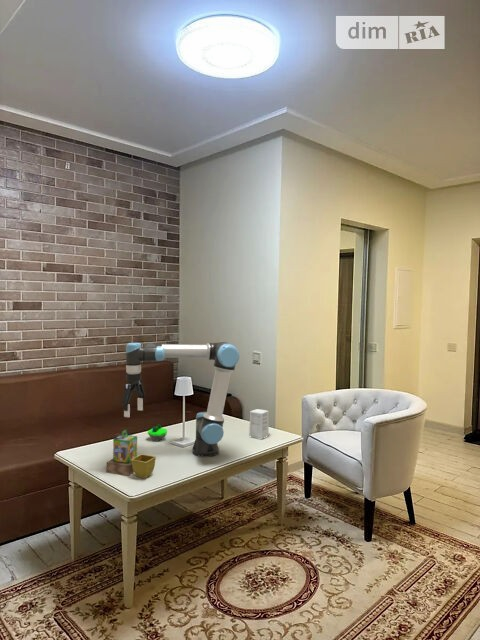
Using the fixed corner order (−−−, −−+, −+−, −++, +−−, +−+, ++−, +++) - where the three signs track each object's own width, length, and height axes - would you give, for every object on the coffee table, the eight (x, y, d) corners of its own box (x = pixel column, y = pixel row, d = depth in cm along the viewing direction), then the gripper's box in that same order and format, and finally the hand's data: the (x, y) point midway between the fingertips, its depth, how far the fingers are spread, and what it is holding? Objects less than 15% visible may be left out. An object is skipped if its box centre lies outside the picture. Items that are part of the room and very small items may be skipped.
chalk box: (129, 463, 220) (129, 434, 219) (112, 461, 222) (112, 432, 221) (137, 457, 229) (138, 429, 228) (121, 455, 231) (122, 427, 230)
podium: (142, 466, 230) (142, 457, 230) (129, 475, 217) (129, 465, 217) (120, 463, 234) (121, 453, 234) (106, 472, 221) (106, 462, 221)
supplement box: (268, 436, 287) (269, 410, 287) (261, 439, 280) (262, 413, 279) (256, 433, 293) (256, 408, 292) (248, 437, 285) (249, 411, 284)
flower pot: (130, 477, 216) (131, 459, 215) (140, 471, 224) (141, 453, 223) (146, 480, 213) (146, 462, 212) (155, 474, 221) (156, 456, 220)
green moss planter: (163, 443, 268) (163, 425, 267) (144, 441, 270) (145, 423, 269) (169, 437, 279) (170, 420, 279) (152, 435, 281) (152, 418, 281)
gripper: (139, 368, 241) (139, 407, 243) (113, 376, 217) (114, 419, 219) (151, 369, 239) (151, 408, 240) (127, 377, 215) (127, 420, 217)
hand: (133, 413), depth 230 cm, fingers open, 13 cm apart
